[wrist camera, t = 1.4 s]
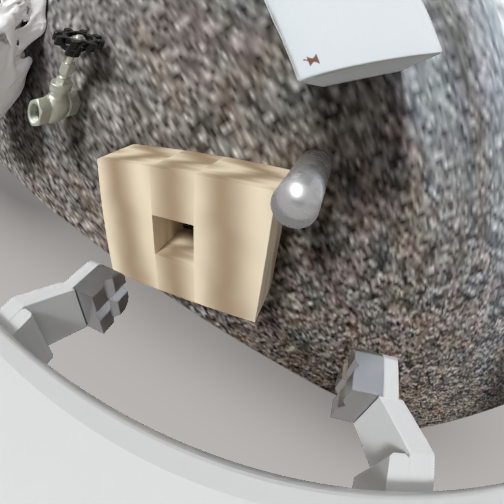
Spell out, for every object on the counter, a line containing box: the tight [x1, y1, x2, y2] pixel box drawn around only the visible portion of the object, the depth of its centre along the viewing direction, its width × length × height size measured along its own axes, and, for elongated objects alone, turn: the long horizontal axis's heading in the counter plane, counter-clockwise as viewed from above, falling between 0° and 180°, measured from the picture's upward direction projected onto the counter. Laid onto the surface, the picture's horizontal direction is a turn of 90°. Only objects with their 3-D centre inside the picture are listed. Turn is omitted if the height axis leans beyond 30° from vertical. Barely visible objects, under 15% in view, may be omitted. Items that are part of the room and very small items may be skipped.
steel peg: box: [270, 149, 332, 229], centre depth 22 cm, size 3×3×10 cm
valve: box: [28, 28, 105, 126], centre depth 25 cm, size 7×7×12 cm
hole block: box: [97, 144, 290, 322], centre depth 30 cm, size 18×14×6 cm
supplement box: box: [264, 0, 442, 87], centre depth 14 cm, size 7×7×13 cm
